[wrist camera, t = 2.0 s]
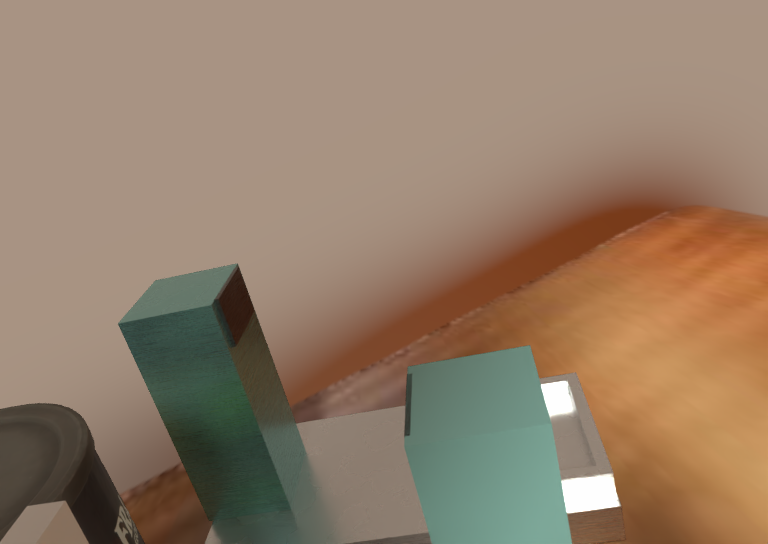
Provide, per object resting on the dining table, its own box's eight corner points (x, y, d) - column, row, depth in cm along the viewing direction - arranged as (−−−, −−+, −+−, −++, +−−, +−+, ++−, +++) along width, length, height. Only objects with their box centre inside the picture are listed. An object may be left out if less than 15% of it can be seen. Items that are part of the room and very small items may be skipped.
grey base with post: (578, 405, 39) (545, 180, 33) (625, 539, 30) (590, 260, 24) (254, 457, 42) (173, 258, 36) (206, 593, 33) (89, 356, 27)
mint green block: (571, 580, 28) (529, 345, 24) (595, 682, 24) (551, 423, 20) (467, 592, 29) (407, 366, 24) (474, 694, 25) (403, 446, 20)
